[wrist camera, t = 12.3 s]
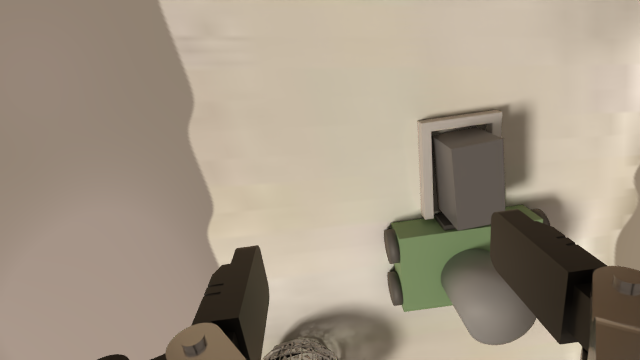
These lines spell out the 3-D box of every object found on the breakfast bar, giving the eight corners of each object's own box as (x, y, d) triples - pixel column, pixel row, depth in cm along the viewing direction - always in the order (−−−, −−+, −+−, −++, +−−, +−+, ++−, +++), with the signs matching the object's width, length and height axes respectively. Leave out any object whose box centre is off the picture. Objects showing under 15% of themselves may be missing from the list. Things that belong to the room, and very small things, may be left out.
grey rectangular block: (430, 135, 40) (451, 149, 34) (475, 126, 40) (503, 138, 34) (438, 207, 43) (457, 230, 37) (479, 198, 43) (505, 221, 37)
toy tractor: (374, 126, 39) (399, 153, 29) (538, 103, 39) (621, 122, 29) (388, 291, 47) (412, 360, 36) (525, 273, 46) (588, 336, 36)
